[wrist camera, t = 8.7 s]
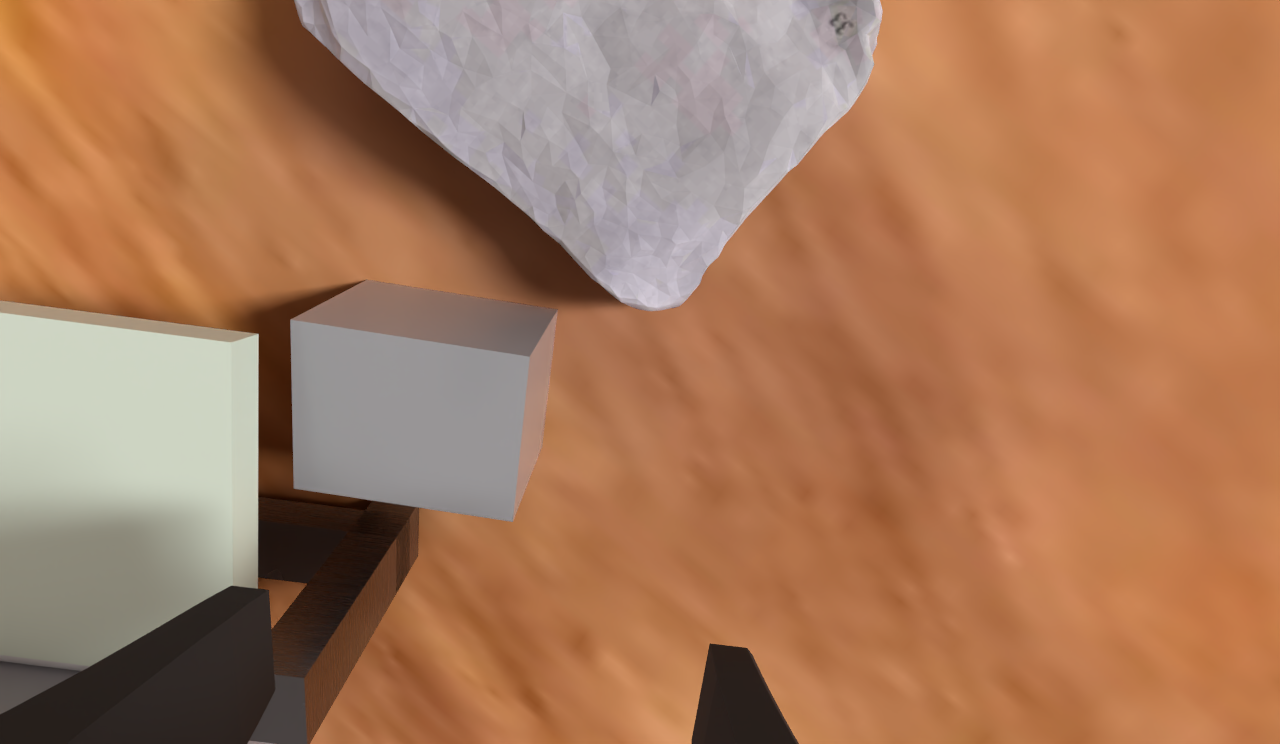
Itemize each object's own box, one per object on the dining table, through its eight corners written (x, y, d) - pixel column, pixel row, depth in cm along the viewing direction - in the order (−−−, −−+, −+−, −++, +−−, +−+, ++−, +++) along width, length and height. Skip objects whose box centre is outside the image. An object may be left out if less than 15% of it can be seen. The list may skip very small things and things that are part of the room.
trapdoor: (288, 795, 19) (212, 916, 16) (-89, 748, 19) (-244, 860, 16) (295, 326, 16) (204, 355, 13) (-152, 267, 16) (-359, 283, 13)
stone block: (545, -300, 17) (297, 30, 18) (543, -498, 12) (207, -40, 13) (877, 50, 20) (649, 323, 21) (979, -4, 15) (678, 352, 16)
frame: (417, 556, 23) (307, 747, 16) (-4, 502, 23) (-303, 671, 16) (419, 503, 22) (304, 678, 15) (-15, 447, 22) (-334, 598, 15)
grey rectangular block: (368, 278, 20) (558, 308, 20) (365, 418, 22) (542, 445, 22) (290, 319, 16) (529, 356, 16) (293, 488, 17) (513, 521, 17)
